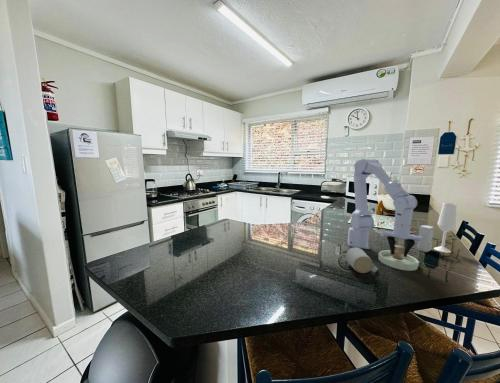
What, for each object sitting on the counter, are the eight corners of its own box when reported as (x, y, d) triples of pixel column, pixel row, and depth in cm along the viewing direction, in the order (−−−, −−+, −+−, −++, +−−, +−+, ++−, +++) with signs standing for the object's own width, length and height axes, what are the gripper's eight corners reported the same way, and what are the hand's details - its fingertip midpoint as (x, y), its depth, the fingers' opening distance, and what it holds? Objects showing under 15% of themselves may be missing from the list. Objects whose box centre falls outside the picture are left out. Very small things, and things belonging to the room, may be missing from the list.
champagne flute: (454, 253, 104) (462, 205, 101) (437, 251, 106) (445, 203, 103) (446, 248, 110) (454, 203, 107) (431, 246, 113) (438, 201, 109)
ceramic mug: (353, 274, 80) (355, 254, 79) (344, 264, 89) (346, 246, 87) (381, 276, 80) (384, 256, 79) (370, 265, 88) (372, 248, 87)
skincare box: (426, 252, 104) (430, 228, 103) (415, 249, 108) (419, 226, 106) (431, 250, 108) (435, 226, 106) (420, 247, 111) (424, 224, 110)
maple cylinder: (393, 258, 90) (394, 247, 90) (391, 255, 94) (392, 244, 93) (404, 261, 89) (406, 249, 88) (402, 257, 92) (403, 246, 92)
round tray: (381, 266, 88) (382, 260, 87) (375, 253, 101) (376, 248, 100) (423, 273, 83) (424, 267, 82) (411, 259, 96) (411, 253, 95)
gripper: (384, 224, 88) (380, 255, 90) (427, 229, 83) (422, 262, 85) (380, 220, 95) (377, 249, 97) (420, 224, 90) (416, 255, 91)
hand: (398, 254), depth 91 cm, fingers closed on maple cylinder, 4 cm apart
